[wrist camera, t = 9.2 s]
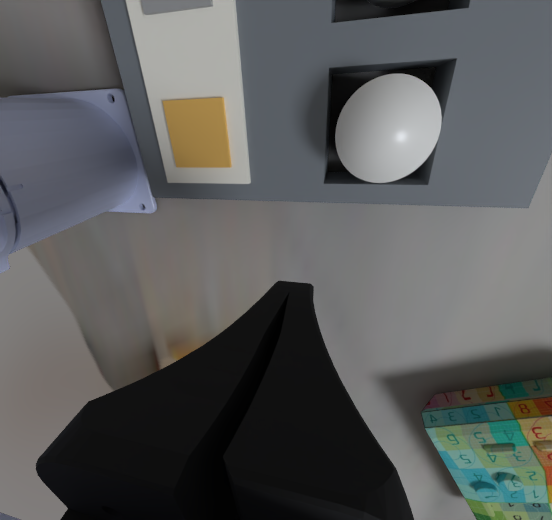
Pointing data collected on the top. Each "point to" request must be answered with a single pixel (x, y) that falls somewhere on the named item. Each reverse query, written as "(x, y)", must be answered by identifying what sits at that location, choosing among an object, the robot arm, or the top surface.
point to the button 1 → (388, 128)
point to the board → (317, 97)
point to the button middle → (390, 3)
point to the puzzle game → (497, 447)
